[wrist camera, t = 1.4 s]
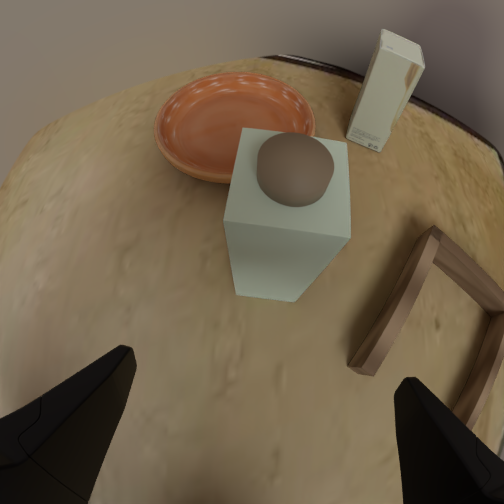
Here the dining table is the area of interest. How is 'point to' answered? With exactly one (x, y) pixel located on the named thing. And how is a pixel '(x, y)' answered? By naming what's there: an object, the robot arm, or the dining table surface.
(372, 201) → the dining table surface
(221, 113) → the saucer
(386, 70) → the skincare box
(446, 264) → the box
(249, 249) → the block
